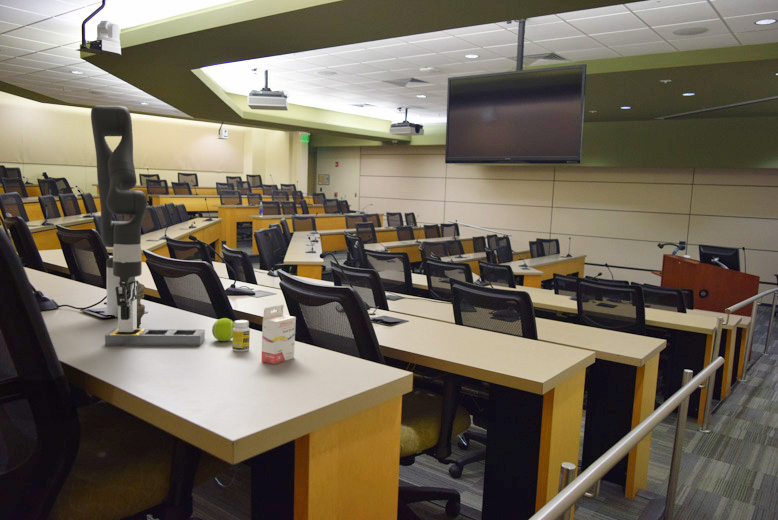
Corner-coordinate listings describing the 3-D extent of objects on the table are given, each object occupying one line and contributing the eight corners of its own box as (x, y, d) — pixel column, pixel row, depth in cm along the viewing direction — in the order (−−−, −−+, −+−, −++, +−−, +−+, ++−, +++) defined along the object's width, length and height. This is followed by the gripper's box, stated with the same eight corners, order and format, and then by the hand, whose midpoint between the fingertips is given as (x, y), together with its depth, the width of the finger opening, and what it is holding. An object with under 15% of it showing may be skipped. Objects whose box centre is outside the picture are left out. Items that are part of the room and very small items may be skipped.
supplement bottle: (244, 352, 158) (245, 323, 158) (229, 351, 159) (229, 322, 158) (252, 348, 163) (252, 320, 162) (237, 347, 164) (237, 318, 163)
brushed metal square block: (122, 328, 165) (122, 298, 164) (136, 328, 166) (136, 298, 165) (118, 331, 161) (118, 301, 160) (132, 331, 162) (132, 301, 161)
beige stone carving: (139, 329, 179) (139, 283, 177) (123, 328, 179) (122, 282, 177) (147, 325, 185) (147, 280, 183) (131, 324, 185) (131, 280, 183)
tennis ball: (210, 344, 166) (211, 320, 165) (213, 338, 173) (213, 315, 172) (234, 343, 167) (235, 321, 167) (236, 338, 174) (237, 316, 173)
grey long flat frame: (114, 338, 167) (114, 328, 166) (204, 339, 171) (204, 329, 171) (105, 345, 159) (104, 334, 159) (200, 345, 163) (200, 335, 163)
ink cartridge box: (275, 365, 148) (276, 310, 147) (260, 361, 151) (262, 308, 149) (295, 357, 156) (296, 305, 154) (281, 354, 158) (282, 303, 157)
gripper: (121, 256, 167) (121, 312, 169) (105, 261, 153) (105, 323, 155) (147, 257, 169) (147, 313, 170) (133, 262, 155) (134, 323, 156)
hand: (127, 317), depth 163 cm, fingers closed on brushed metal square block, 4 cm apart
